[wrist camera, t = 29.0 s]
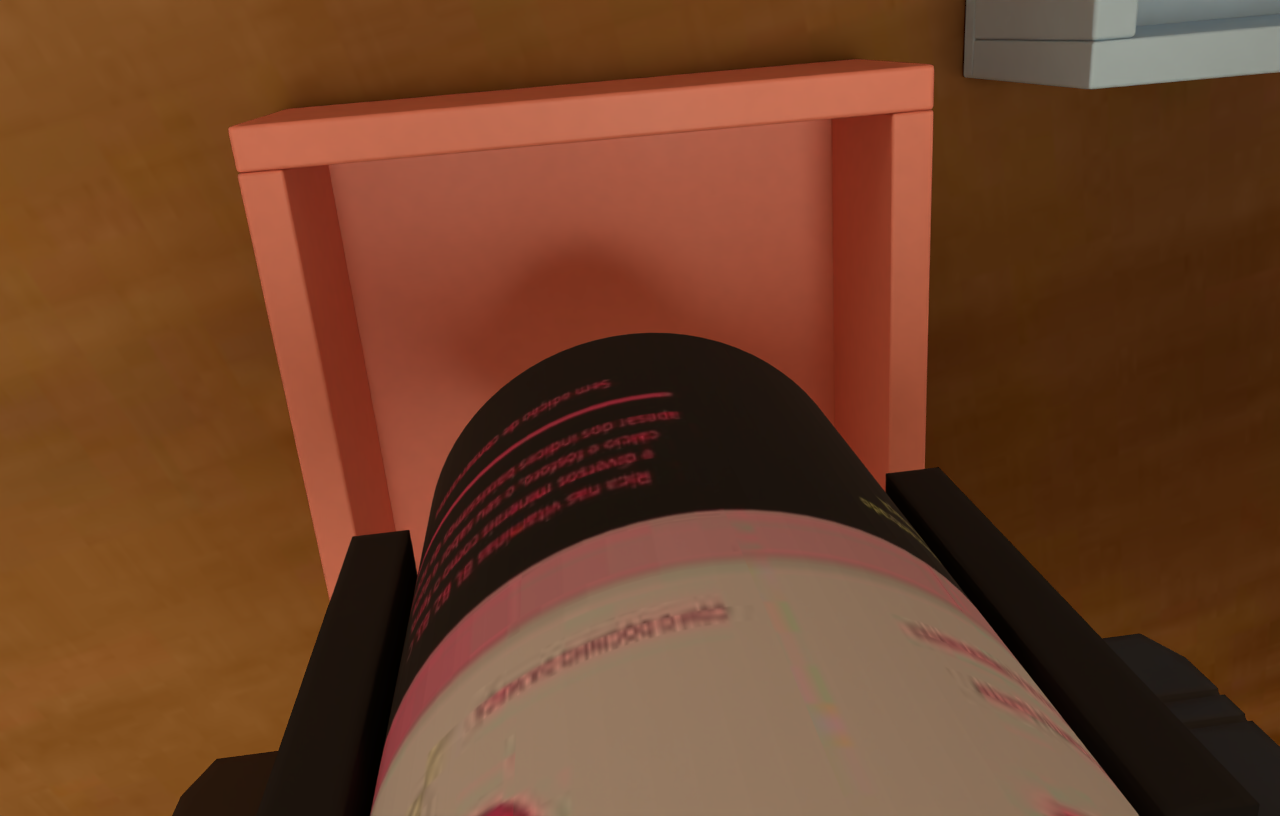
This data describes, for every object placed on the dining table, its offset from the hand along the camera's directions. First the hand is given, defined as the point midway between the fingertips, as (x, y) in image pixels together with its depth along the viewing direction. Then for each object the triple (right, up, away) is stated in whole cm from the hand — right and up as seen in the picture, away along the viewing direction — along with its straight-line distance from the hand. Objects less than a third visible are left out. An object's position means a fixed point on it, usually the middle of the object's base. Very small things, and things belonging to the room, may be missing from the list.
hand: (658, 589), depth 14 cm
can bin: (-1, +4, +10) cm, 11 cm away
